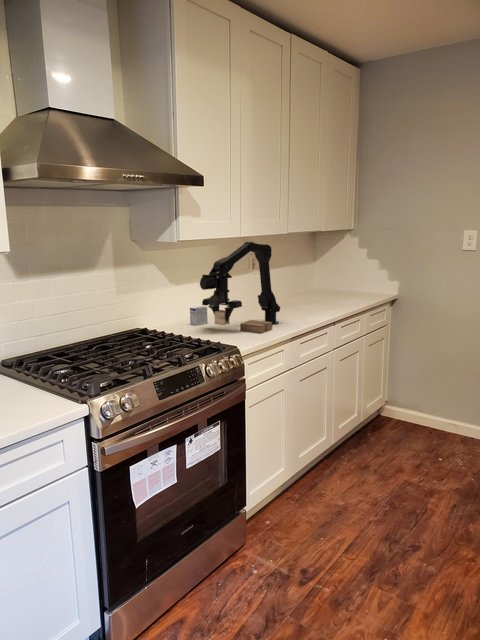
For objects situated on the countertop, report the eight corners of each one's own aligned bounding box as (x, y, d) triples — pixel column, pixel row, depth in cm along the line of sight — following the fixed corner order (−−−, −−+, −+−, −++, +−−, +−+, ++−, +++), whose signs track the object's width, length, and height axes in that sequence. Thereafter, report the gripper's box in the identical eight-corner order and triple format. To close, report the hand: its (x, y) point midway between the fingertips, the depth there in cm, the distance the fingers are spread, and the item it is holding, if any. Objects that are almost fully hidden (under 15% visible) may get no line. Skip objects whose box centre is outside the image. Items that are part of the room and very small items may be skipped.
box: (201, 322, 260) (201, 305, 258) (207, 323, 257) (207, 306, 255) (189, 324, 254) (189, 307, 253) (195, 325, 251) (195, 308, 250)
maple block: (220, 322, 244) (220, 309, 242) (229, 323, 241) (229, 310, 240) (214, 324, 239) (214, 311, 238) (223, 325, 237) (223, 312, 236)
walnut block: (252, 327, 248) (252, 319, 248) (272, 330, 243) (272, 322, 242) (240, 331, 239) (240, 323, 238) (261, 334, 234) (261, 326, 233)
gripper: (195, 288, 235) (195, 322, 238) (230, 291, 226) (230, 326, 229) (208, 286, 244) (208, 318, 247) (242, 288, 235) (242, 321, 238)
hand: (222, 321), depth 240 cm, fingers closed on maple block, 5 cm apart
